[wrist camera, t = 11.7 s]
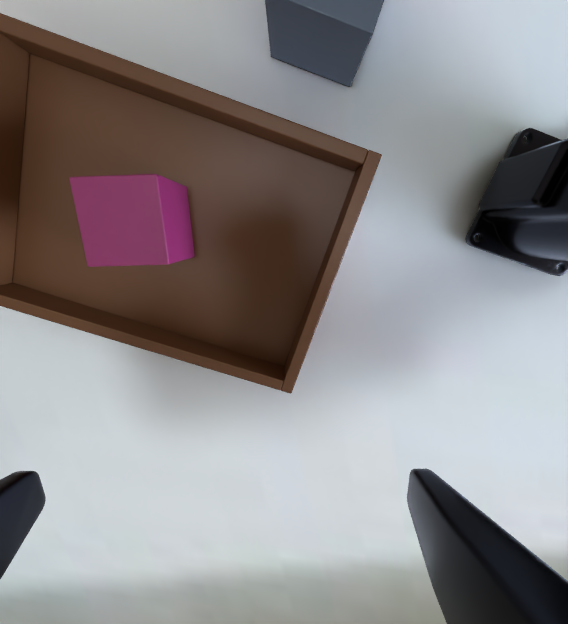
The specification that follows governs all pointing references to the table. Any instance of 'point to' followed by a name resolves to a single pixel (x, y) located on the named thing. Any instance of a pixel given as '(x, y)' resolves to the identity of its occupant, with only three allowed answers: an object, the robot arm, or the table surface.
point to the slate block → (322, 34)
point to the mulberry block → (132, 219)
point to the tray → (202, 205)
